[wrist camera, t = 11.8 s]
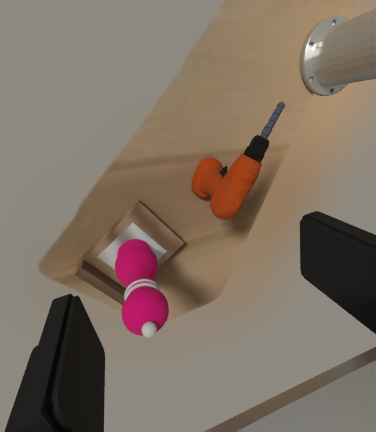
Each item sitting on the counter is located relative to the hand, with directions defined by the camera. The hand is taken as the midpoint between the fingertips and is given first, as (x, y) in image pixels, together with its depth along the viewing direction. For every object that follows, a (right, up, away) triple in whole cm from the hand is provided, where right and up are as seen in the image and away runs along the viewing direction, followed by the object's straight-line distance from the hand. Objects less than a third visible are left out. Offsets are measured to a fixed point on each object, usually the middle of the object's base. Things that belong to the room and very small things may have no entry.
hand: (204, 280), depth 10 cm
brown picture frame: (-11, -4, +38) cm, 40 cm away
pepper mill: (-11, -4, +37) cm, 38 cm away
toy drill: (+4, +14, +37) cm, 40 cm away
